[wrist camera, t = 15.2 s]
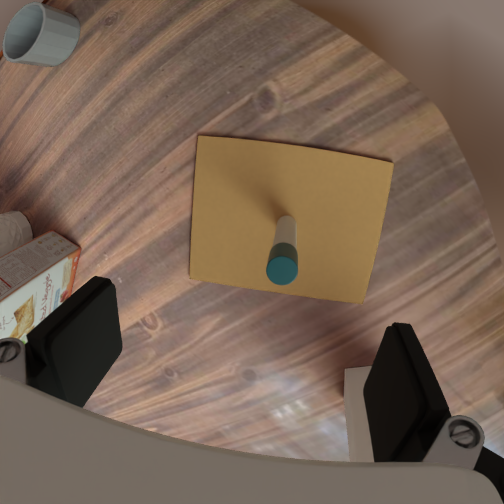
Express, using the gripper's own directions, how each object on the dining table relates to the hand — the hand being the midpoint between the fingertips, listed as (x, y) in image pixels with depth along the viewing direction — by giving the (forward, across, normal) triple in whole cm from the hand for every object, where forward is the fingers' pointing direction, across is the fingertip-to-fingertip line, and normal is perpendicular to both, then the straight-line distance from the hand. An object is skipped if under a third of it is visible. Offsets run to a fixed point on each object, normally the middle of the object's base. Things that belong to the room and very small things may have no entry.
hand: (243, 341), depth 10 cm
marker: (+24, -1, +3) cm, 24 cm away
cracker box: (+24, +29, +15) cm, 40 cm away
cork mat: (+24, -1, +3) cm, 24 cm away
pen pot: (+24, +30, -18) cm, 43 cm away
